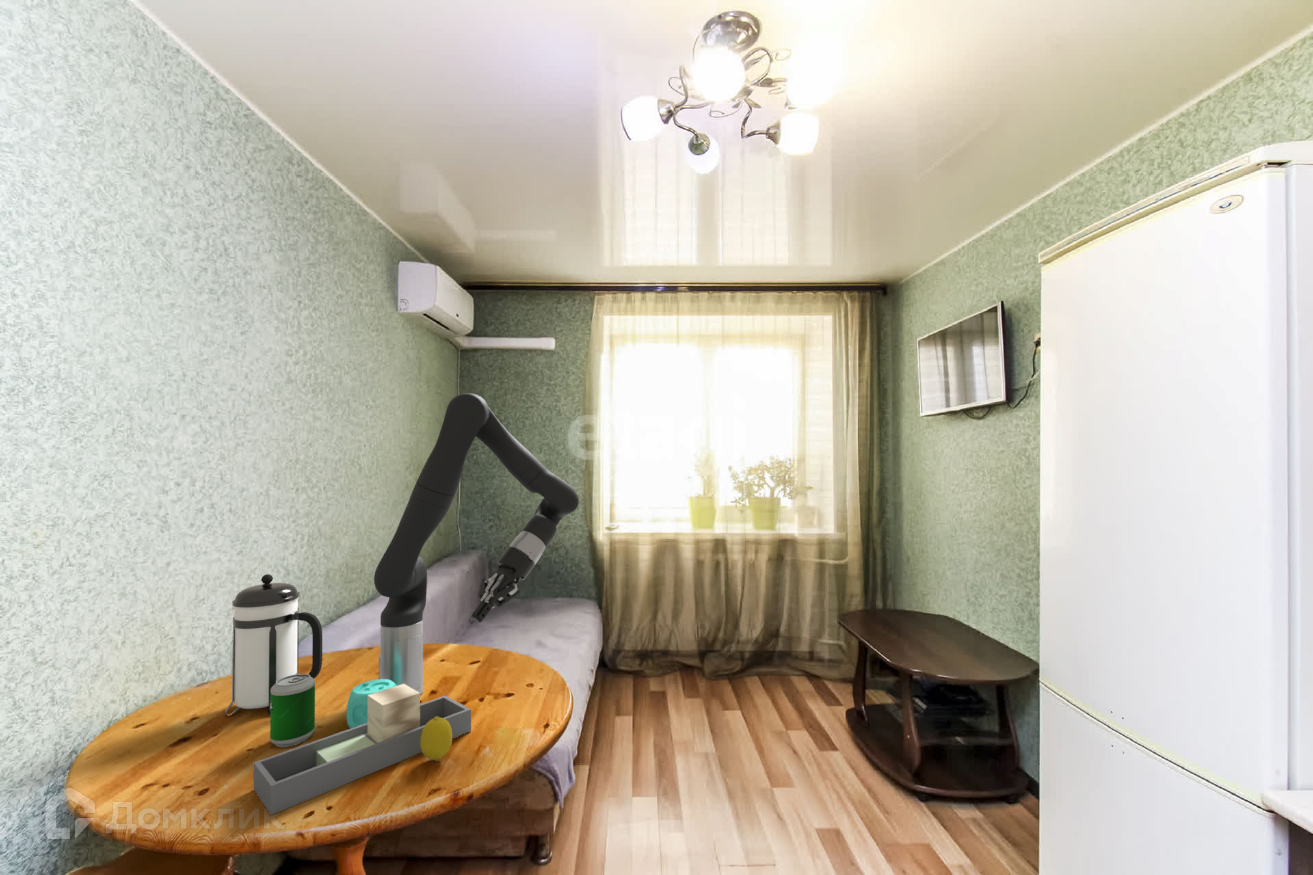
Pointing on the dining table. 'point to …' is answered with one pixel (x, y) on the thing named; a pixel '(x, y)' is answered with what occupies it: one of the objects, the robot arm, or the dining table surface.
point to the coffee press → (267, 641)
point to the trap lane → (345, 758)
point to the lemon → (436, 738)
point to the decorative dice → (363, 700)
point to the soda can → (292, 710)
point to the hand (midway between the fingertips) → (475, 619)
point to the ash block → (393, 712)
